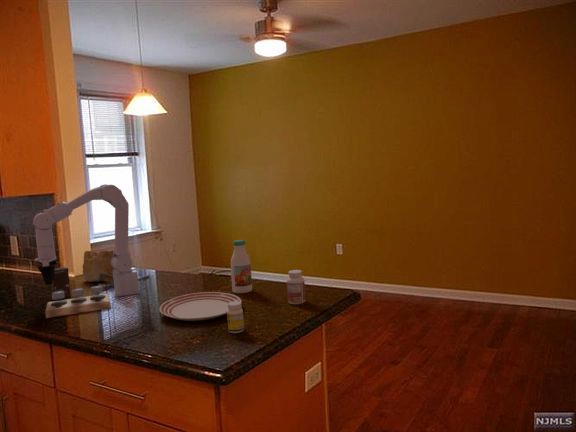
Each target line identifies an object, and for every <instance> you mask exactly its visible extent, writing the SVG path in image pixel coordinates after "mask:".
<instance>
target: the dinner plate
mask: <svg viewBox="0 0 576 432" xmlns="http://www.w3.org/2000/svg"><path fill="white" fill-rule="evenodd" d="M234 301H238V302H241V303H242V299H241V298H240V297H239V296H237V295H235V294H232V293H228V292H227V293H226V292H219V291H218V292H217V291H204V292H201V291H200V292H195V293H187V294H184V295H183V294H182V295H180V296H176V297H173V298H171V299H169V300H166V301H165V302H163V303H162V304H161V305H160V306H159V308H158V309H159V312H160V313H161V314H162V315H164V316H166V317H168V318H171V319H175V320H180V321H186V322H197V321H199V322H200V321H207V320H211V319H215V318H219V317H221V316H223V315H227V310H228V303H230V302H234Z"/></svg>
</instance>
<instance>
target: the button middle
mask: <svg viewBox="0 0 576 432" xmlns="http://www.w3.org/2000/svg"><path fill="white" fill-rule="evenodd" d="M84 295H85V291H84V288H82V287H81V288H75V289H72V290H71V296H72V297H73V298H79V297H83V296H84Z"/></svg>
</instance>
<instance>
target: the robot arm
mask: <svg viewBox="0 0 576 432" xmlns="http://www.w3.org/2000/svg"><path fill="white" fill-rule="evenodd" d="M92 201H104V202H107V203H109V205H111V206H112V207H113V208H114V249H113V257H112V259H111V265H112V267H113V268H114V270H113V279H114V282H113V287H114V291H113V297H115V298H117V297H122V296H123V297H124V296H130V295H137V294H140V283H139V275H138V274H139V273H138V271H137V270H135V269H134V270H133V269H132V268H133V265H134V264H133V260H132V258H131V252H130V250H129V202H128V200H127V199H126V197H125V195H124V193H122V190H121V189H120V188H119V187H117V186H116V185H115V184H104V183H103V184H101V185H99V186H97V187H93V188H91V189H89V190H88V191H85V192H84V193H82V194H81V195H79V196H77V197H76V198H74V199H72V200H71V201H68V202H66V201H61V202H60V201H57V202H56V203H55V205H54V206H52V207H49V208H48V209H46V208H45V209H43V212H40V213H37V214H36V215H35V216H34V217H33V221H32V224H33V226H34V227H35V228H34V231H35V241H36V242H35V243H36V251H37V252H36V253H37V257H36V258H34V262H40V265H38V266H37V269H38V271H39V272H40V274H41V275H42V279H43V282H44V284H45V285H46V286H47V285H48V286H49V285H52V282H53V280H54V273H55V268H56V265H57V263H58V259H57V255H56V250H55V240H54V232H53V228H52V226H53V225H54V224H57V223H59V222H61V221H62V220H65V219H67V218H68V217H70V216H72V213H73V211H74V210H75V209H78V208H79V207H82V206H83V205H84V206H85V204H87V203H90V202H92Z"/></svg>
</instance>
